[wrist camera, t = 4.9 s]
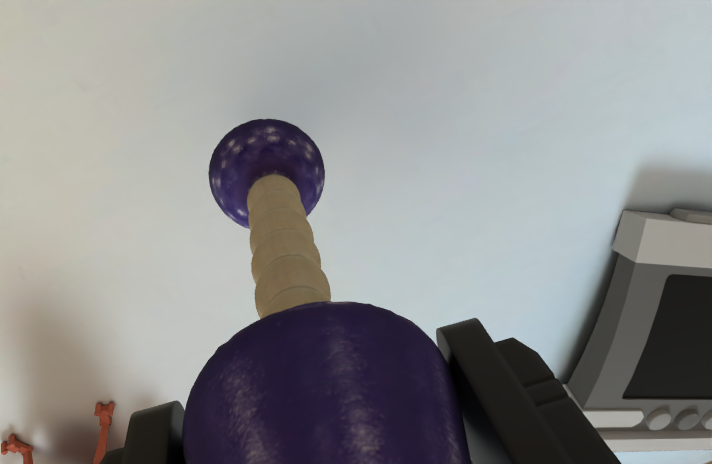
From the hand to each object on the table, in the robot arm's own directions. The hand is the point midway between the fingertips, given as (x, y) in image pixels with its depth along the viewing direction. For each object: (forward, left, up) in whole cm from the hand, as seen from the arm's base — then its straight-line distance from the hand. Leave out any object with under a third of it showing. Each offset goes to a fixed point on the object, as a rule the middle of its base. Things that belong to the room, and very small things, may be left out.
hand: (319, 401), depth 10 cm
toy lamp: (0, 0, -13) cm, 13 cm away
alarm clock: (+20, +24, -19) cm, 37 cm away
